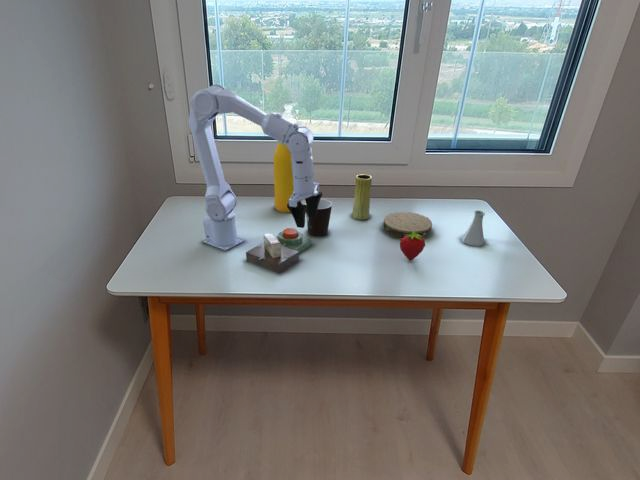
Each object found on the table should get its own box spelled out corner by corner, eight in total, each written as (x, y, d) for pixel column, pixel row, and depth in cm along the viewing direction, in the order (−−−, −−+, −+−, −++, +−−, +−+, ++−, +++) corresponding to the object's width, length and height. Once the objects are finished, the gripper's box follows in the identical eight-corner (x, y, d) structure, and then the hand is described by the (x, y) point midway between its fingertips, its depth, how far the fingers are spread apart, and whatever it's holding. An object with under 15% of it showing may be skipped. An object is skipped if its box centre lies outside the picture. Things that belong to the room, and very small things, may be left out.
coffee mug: (328, 239, 143) (329, 210, 137) (301, 236, 144) (302, 207, 139) (334, 225, 152) (335, 196, 147) (309, 222, 154) (310, 194, 148)
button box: (269, 245, 139) (269, 235, 137) (285, 236, 144) (285, 226, 142) (295, 254, 134) (295, 244, 132) (311, 245, 140) (311, 234, 138)
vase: (372, 215, 160) (376, 176, 152) (364, 221, 156) (367, 181, 148) (357, 211, 163) (360, 172, 155) (348, 217, 158) (351, 177, 150)
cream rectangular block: (264, 246, 131) (263, 233, 129) (271, 245, 132) (271, 232, 130) (273, 258, 126) (272, 244, 123) (281, 256, 127) (280, 243, 124)
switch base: (243, 262, 129) (243, 252, 128) (269, 247, 138) (269, 238, 136) (276, 275, 124) (275, 265, 122) (301, 259, 132) (301, 249, 130)
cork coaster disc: (373, 227, 152) (374, 219, 150) (404, 216, 160) (405, 208, 159) (409, 244, 142) (411, 236, 140) (440, 231, 151) (442, 223, 149)
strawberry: (394, 255, 135) (399, 225, 130) (418, 254, 136) (424, 224, 131) (400, 265, 131) (405, 234, 125) (425, 264, 132) (430, 233, 126)
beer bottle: (292, 214, 159) (292, 129, 142) (270, 209, 162) (266, 125, 145) (304, 206, 166) (305, 123, 149) (282, 201, 169) (281, 120, 152)
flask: (485, 239, 147) (493, 210, 141) (482, 248, 141) (490, 218, 135) (463, 234, 149) (469, 206, 143) (459, 243, 143) (465, 214, 138)
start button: (280, 236, 137) (280, 231, 136) (289, 231, 140) (289, 226, 139) (291, 240, 135) (291, 235, 134) (300, 235, 138) (300, 230, 137)
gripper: (303, 185, 115) (307, 233, 123) (327, 168, 126) (329, 214, 133) (280, 182, 118) (285, 230, 125) (305, 166, 129) (308, 211, 136)
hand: (306, 221), depth 130 cm, fingers open, 7 cm apart
